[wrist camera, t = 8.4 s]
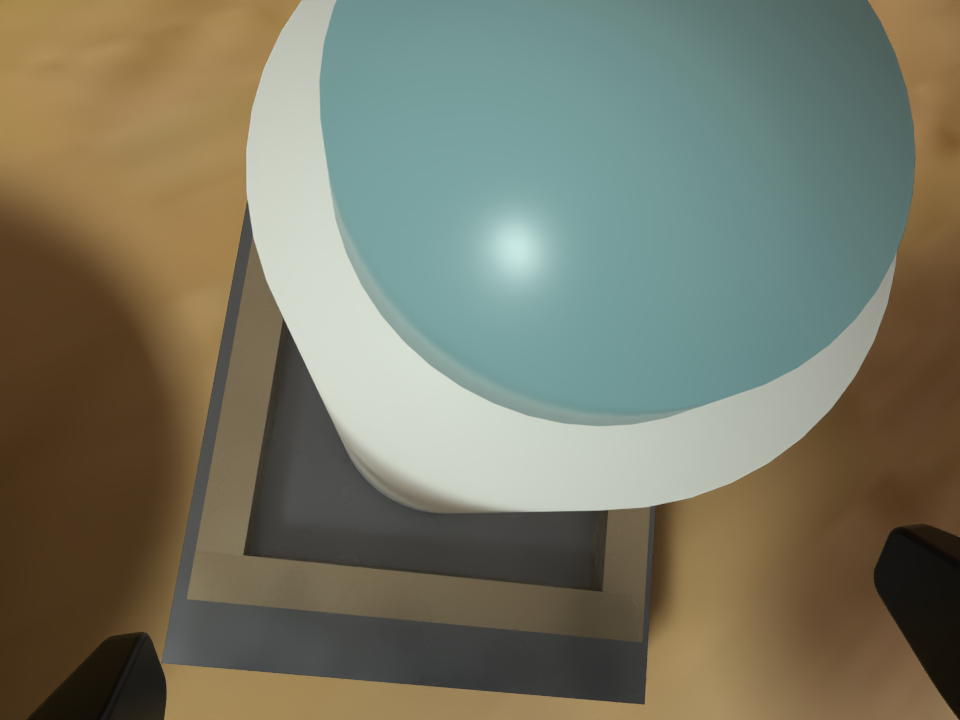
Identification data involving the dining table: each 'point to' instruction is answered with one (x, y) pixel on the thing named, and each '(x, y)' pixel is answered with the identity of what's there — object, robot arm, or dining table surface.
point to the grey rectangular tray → (384, 553)
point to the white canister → (578, 235)
